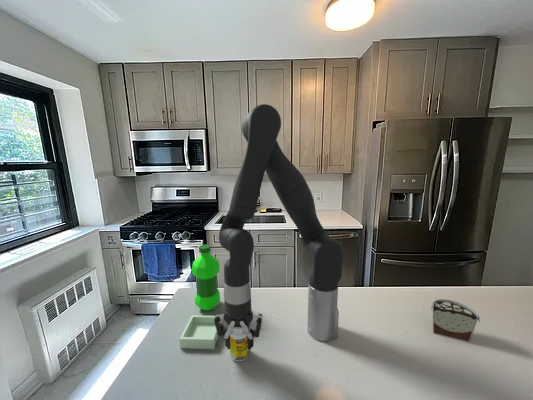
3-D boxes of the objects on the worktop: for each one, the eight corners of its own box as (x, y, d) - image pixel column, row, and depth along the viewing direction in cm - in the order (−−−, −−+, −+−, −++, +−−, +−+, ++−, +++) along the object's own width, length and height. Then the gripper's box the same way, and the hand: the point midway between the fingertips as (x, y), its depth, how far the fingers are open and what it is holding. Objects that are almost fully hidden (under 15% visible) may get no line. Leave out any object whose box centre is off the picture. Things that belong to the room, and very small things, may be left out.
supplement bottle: (235, 366, 64) (234, 334, 62) (227, 352, 68) (226, 322, 67) (252, 356, 67) (252, 325, 65) (243, 344, 71) (242, 314, 70)
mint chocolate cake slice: (468, 330, 76) (472, 303, 74) (475, 344, 70) (480, 315, 69) (424, 320, 81) (427, 294, 79) (427, 332, 75) (431, 305, 74)
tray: (222, 324, 80) (221, 315, 79) (214, 349, 70) (213, 339, 69) (192, 323, 80) (191, 315, 80) (180, 348, 70) (179, 338, 69)
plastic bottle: (211, 295, 97) (207, 239, 93) (226, 305, 90) (224, 246, 86) (189, 307, 90) (185, 246, 85) (205, 319, 83) (200, 254, 78)
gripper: (263, 288, 68) (264, 337, 71) (215, 287, 68) (218, 336, 71) (262, 304, 60) (263, 358, 63) (208, 303, 61) (212, 357, 64)
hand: (239, 346), depth 67 cm, fingers closed on supplement bottle, 5 cm apart
